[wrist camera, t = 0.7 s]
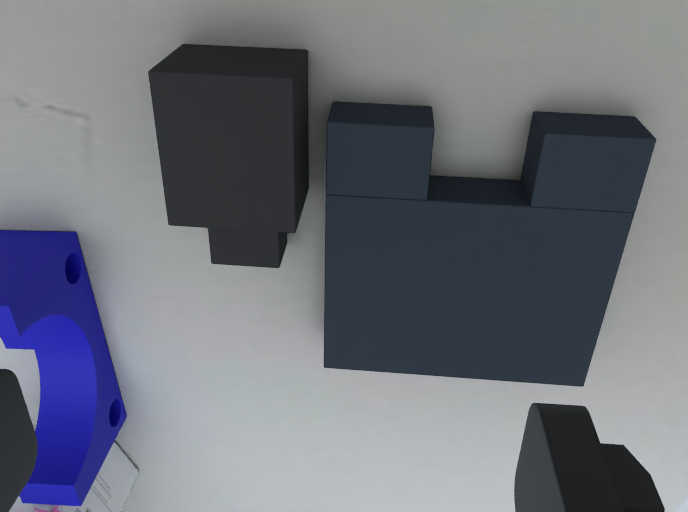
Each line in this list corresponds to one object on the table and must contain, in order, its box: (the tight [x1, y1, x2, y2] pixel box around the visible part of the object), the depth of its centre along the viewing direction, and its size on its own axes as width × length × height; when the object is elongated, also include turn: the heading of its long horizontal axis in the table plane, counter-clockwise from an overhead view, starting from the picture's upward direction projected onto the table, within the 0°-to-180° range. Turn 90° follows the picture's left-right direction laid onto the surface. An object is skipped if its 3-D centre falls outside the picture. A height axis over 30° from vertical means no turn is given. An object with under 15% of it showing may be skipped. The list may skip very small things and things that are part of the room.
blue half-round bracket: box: [0, 230, 127, 506], centre depth 31 cm, size 12×4×6 cm, turn 2°
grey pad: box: [324, 102, 656, 386], centre depth 28 cm, size 12×12×2 cm
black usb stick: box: [148, 44, 309, 268], centre depth 26 cm, size 9×5×4 cm, turn 179°
